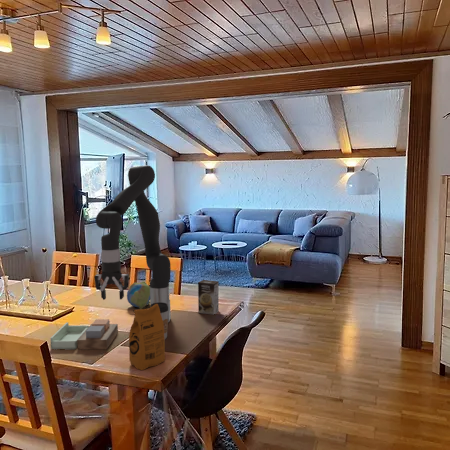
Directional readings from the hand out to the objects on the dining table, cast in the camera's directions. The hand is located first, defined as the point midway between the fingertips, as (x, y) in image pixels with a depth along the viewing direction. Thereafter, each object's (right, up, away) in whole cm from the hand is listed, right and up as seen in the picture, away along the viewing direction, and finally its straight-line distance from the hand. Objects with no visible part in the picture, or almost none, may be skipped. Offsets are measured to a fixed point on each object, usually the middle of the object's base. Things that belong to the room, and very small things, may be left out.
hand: (112, 298), depth 179 cm
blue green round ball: (+2, -13, +52) cm, 54 cm away
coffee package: (+17, -22, -15) cm, 32 cm away
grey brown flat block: (-8, -19, +7) cm, 22 cm away
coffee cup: (+18, -19, +8) cm, 28 cm away
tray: (-20, -19, +7) cm, 28 cm away
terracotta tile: (-8, -15, +10) cm, 19 cm away
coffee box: (+38, -14, +42) cm, 59 cm away
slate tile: (-8, -16, +2) cm, 18 cm away
